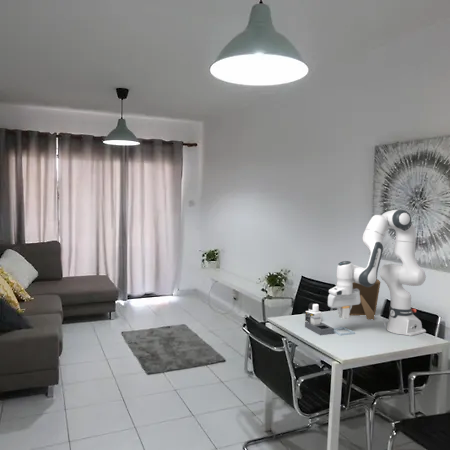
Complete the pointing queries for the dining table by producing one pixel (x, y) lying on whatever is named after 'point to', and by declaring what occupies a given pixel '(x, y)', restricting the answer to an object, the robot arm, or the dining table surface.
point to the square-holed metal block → (320, 328)
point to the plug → (344, 312)
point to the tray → (343, 333)
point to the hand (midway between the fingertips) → (344, 313)
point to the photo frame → (366, 300)
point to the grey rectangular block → (315, 320)
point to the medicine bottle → (312, 312)
